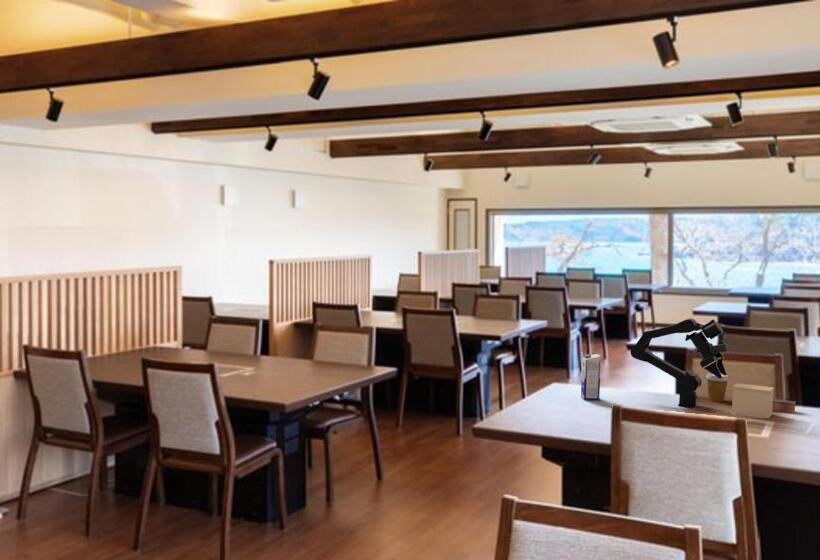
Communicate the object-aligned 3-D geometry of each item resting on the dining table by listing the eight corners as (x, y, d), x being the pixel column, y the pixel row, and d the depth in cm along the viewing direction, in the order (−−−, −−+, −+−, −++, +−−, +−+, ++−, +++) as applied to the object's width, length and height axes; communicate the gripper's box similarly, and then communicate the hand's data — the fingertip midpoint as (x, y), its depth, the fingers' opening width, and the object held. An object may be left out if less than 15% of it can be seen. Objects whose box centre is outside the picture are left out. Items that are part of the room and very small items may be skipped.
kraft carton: (731, 413, 322) (732, 386, 322) (735, 409, 330) (736, 383, 330) (768, 418, 314) (770, 391, 314) (772, 414, 322) (774, 387, 322)
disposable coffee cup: (729, 400, 350) (730, 374, 349) (725, 404, 342) (726, 377, 341) (707, 398, 355) (708, 372, 354) (702, 401, 347) (704, 375, 346)
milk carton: (599, 400, 343) (601, 355, 342) (584, 400, 343) (585, 355, 342) (595, 397, 350) (597, 353, 349) (580, 396, 350) (582, 352, 349)
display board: (730, 415, 321) (730, 414, 321) (736, 409, 332) (736, 408, 332) (795, 424, 308) (795, 423, 308) (799, 418, 319) (799, 416, 319)
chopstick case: (741, 407, 336) (742, 397, 336) (743, 405, 341) (744, 395, 340) (793, 414, 325) (794, 403, 325) (795, 412, 329) (795, 401, 329)
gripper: (713, 337, 320) (736, 370, 316) (723, 333, 336) (744, 364, 332) (690, 350, 326) (712, 383, 322) (701, 346, 341) (721, 377, 337)
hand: (723, 376), depth 328 cm, fingers open, 9 cm apart
